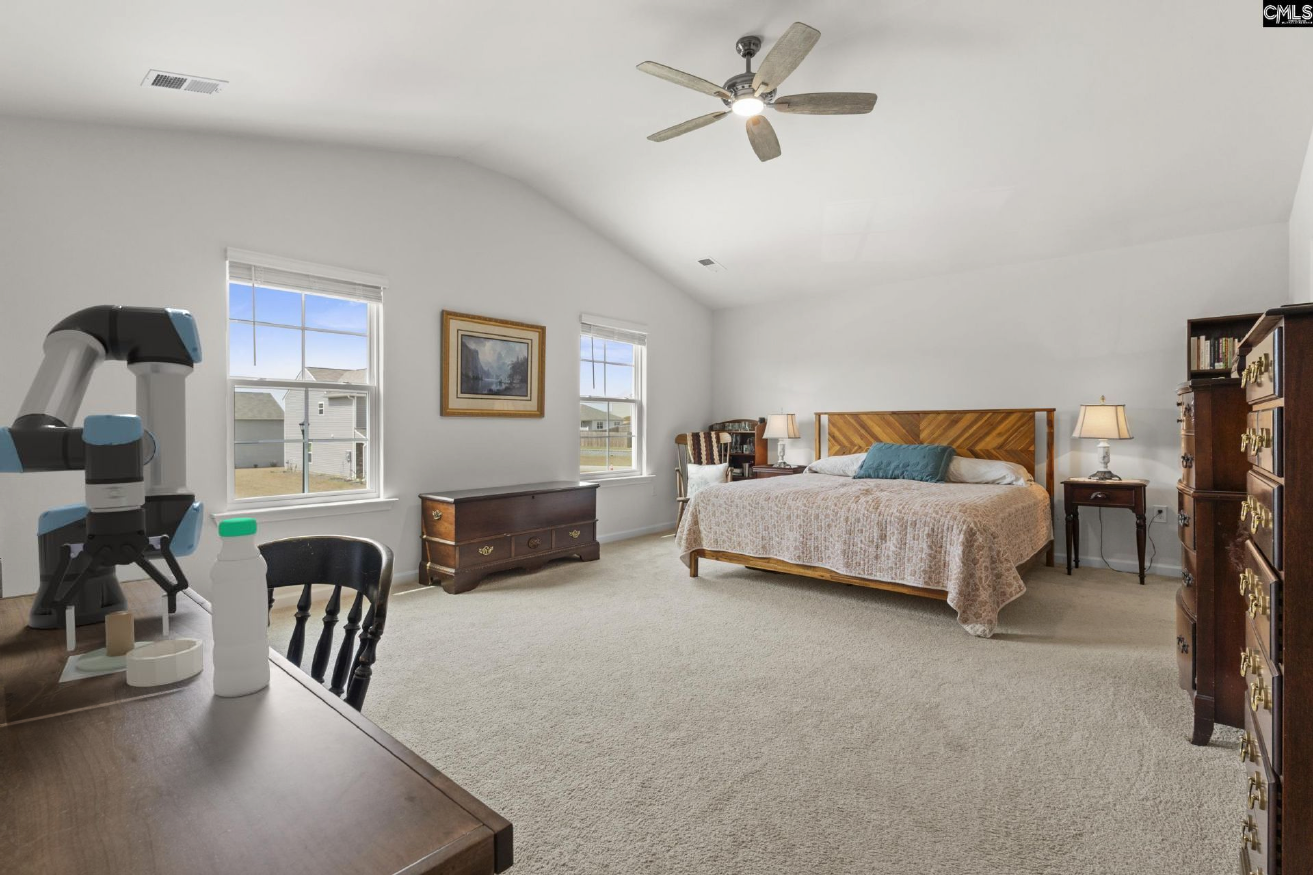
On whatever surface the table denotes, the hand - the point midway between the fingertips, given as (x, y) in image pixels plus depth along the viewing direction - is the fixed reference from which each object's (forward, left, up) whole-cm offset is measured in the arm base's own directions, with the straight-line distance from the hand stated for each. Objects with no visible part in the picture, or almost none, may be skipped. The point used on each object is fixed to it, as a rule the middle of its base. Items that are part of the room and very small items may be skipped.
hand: (120, 640), depth 109 cm
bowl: (+13, +6, -3) cm, 15 cm away
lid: (0, 0, -3) cm, 3 cm away
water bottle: (+26, +15, -4) cm, 30 cm away
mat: (0, 0, -3) cm, 3 cm away
